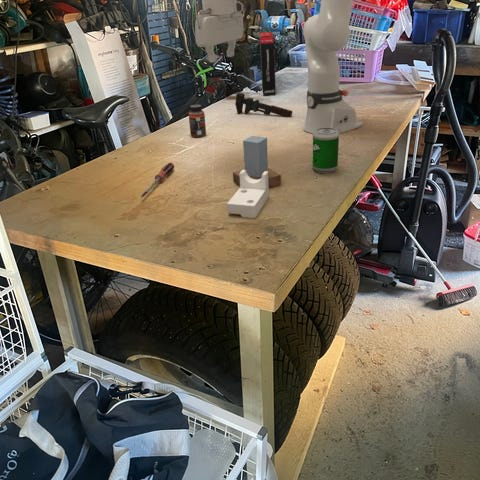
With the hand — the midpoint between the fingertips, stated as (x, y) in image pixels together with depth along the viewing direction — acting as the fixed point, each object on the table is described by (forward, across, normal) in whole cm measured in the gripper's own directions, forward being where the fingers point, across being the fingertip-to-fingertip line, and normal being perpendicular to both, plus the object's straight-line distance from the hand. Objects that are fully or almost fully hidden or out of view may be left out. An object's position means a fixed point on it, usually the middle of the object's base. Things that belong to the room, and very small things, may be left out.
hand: (222, 59), depth 141 cm
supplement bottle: (+31, +18, +25) cm, 44 cm away
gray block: (+28, -14, -18) cm, 36 cm away
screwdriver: (+31, -26, +8) cm, 42 cm away
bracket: (+32, -28, -24) cm, 49 cm away
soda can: (+31, +3, -32) cm, 45 cm away
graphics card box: (+31, +92, +35) cm, 103 cm away
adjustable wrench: (+32, +52, +16) cm, 63 cm away
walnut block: (+31, -14, -18) cm, 39 cm away
